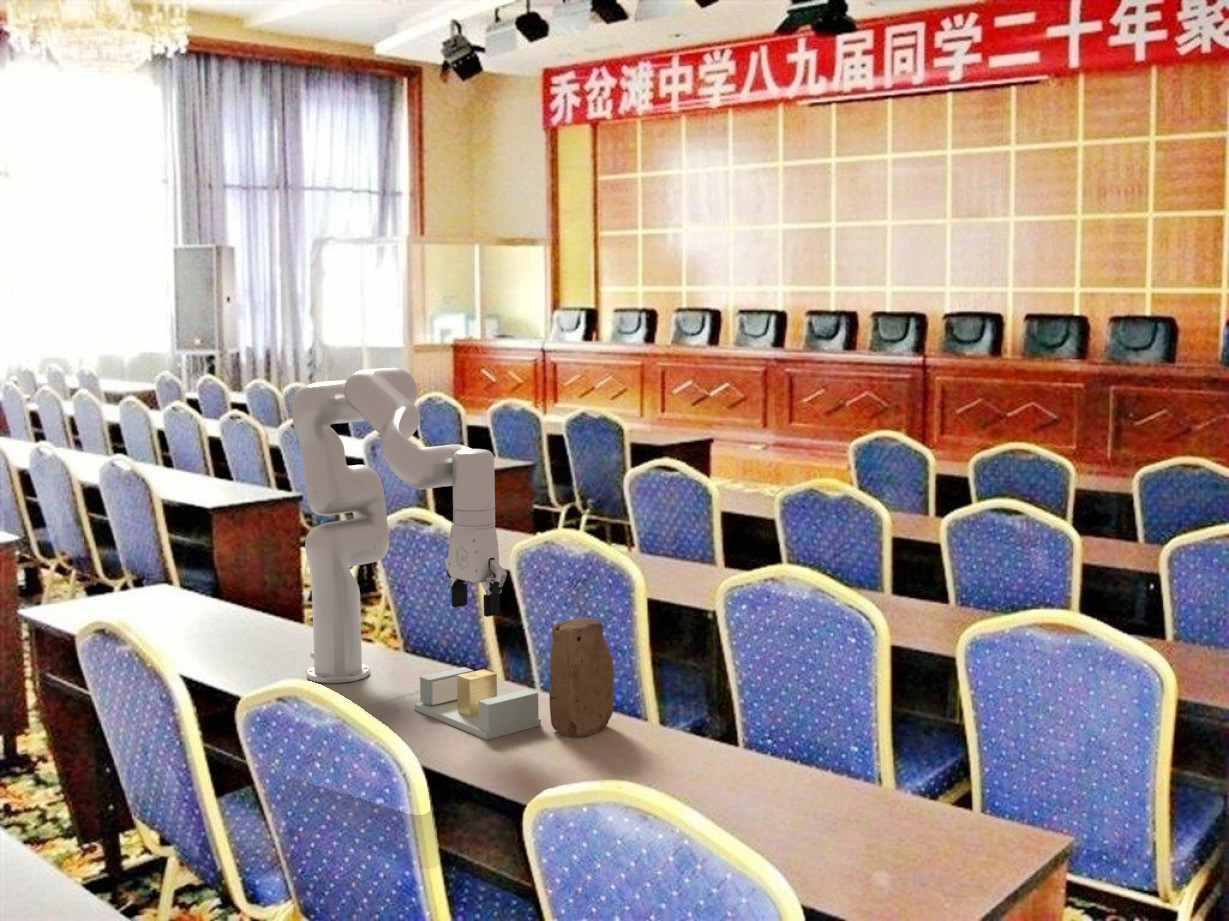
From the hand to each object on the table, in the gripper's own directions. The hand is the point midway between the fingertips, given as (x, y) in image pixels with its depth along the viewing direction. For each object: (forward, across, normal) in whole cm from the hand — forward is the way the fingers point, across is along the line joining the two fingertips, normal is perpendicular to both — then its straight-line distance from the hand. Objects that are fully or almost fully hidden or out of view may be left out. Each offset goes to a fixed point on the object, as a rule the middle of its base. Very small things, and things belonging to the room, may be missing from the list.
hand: (475, 610), depth 252 cm
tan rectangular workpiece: (+19, 0, 0) cm, 19 cm away
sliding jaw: (+19, -9, 0) cm, 21 cm away
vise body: (+20, 0, 0) cm, 20 cm away
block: (+20, +19, +10) cm, 29 cm away
